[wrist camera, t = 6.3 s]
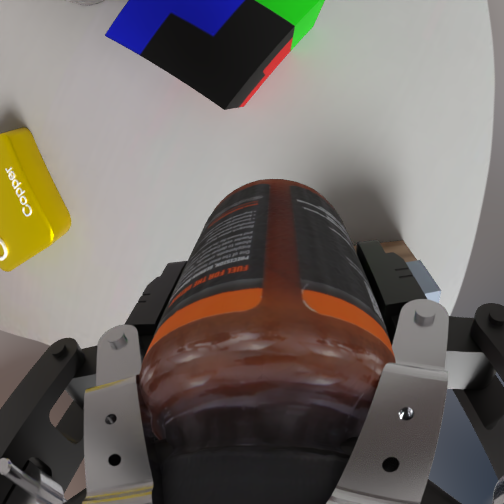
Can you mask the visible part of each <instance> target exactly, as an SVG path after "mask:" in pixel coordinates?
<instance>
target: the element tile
mask: <svg viewBox="0 0 504 504" xmlns="http://www.w3.org/2000/svg"><path fill="white" fill-rule="evenodd" d="M70 226H71V218H70V214H69V212H68V210H67V208H66V206H65V204H64V202H63V200H62V198H61V196H60V194H59V192H58V190H57V188H56V186H55V184H54V182H53V180H52V178H51V176H50V174H49V172H48V169H47V167H46V165H45V163H44V161H43V159H42V156H41V154H40V152H39V150H38V147H37V145H36V143H35V140H34V138H33V135H32V134H31V132H30V131H29V130H28V129H27V128H24V127H22V128H19V129H15V130H11V131H8V132H5V133H1V134H0V268H1V269H2V270H4V271H7V272H9V271H11V270H13V269H14V268H16V267H17V266H19V265H20V264H22V263H24V262H25V261H27V260H28V259H30V258H31V257H33V256H34V255H36V254H38V253H39V252H41V251H42V250H44V249H46V248H47V247H49V246H50V245H52V244H53V243H54V242H55V241H56V240H58V239H59V238H60V237H61V236H63V235H64V234H65V233H66V232H67V231H68V230H69V228H70Z"/></svg>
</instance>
